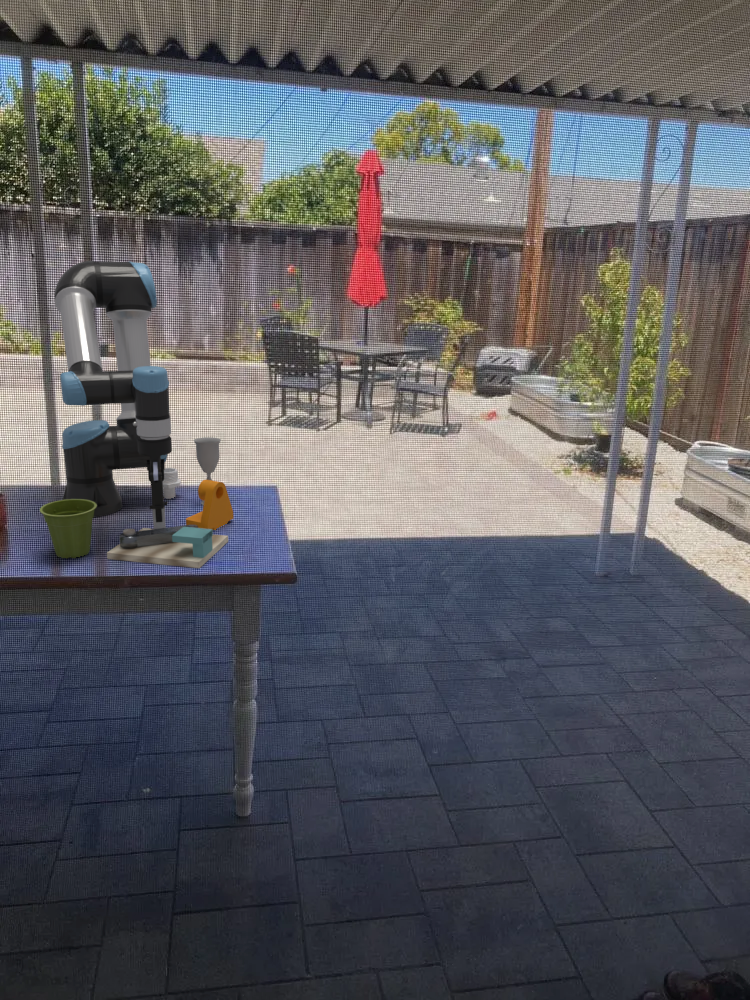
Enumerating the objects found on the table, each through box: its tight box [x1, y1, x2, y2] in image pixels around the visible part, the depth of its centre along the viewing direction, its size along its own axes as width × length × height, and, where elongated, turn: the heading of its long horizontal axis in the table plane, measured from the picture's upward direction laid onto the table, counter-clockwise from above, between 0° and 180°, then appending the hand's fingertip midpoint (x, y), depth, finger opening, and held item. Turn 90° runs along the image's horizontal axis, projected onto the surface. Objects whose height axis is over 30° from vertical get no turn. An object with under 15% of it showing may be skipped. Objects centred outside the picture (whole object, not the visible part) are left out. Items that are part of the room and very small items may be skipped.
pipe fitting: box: [163, 467, 182, 500], centre depth 210 cm, size 6×7×8 cm
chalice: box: [193, 436, 222, 506], centre depth 204 cm, size 7×7×18 cm
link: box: [118, 524, 198, 549], centre depth 173 cm, size 18×4×2 cm, turn 117°
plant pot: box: [39, 499, 97, 559], centre depth 167 cm, size 12×12×11 cm
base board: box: [106, 527, 229, 569], centre depth 172 cm, size 22×17×5 cm
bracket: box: [185, 479, 235, 531], centre depth 188 cm, size 11×7×12 cm, turn 155°
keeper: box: [172, 527, 214, 558], centre depth 167 cm, size 7×6×5 cm
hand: (160, 533), depth 175 cm, fingers closed
